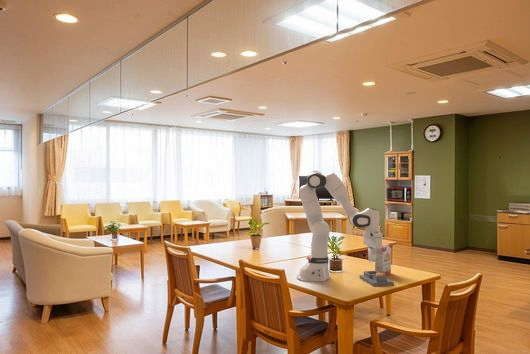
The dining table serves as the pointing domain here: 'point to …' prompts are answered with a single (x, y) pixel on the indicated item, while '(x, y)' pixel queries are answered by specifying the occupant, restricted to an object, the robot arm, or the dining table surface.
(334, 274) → the dining table surface
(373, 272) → the housing
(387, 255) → the cracker box
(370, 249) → the cartridge
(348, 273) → the dining table surface
